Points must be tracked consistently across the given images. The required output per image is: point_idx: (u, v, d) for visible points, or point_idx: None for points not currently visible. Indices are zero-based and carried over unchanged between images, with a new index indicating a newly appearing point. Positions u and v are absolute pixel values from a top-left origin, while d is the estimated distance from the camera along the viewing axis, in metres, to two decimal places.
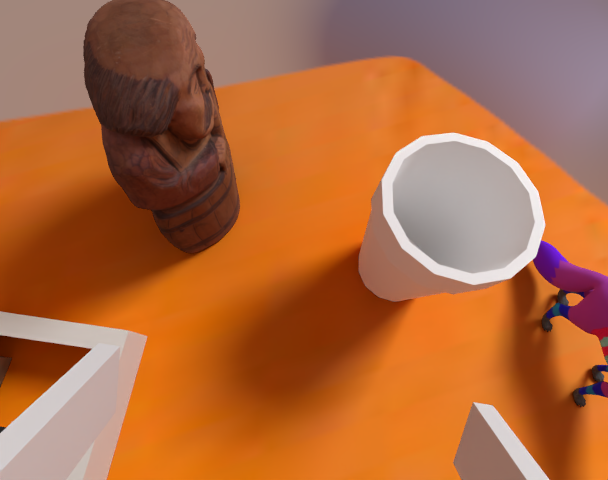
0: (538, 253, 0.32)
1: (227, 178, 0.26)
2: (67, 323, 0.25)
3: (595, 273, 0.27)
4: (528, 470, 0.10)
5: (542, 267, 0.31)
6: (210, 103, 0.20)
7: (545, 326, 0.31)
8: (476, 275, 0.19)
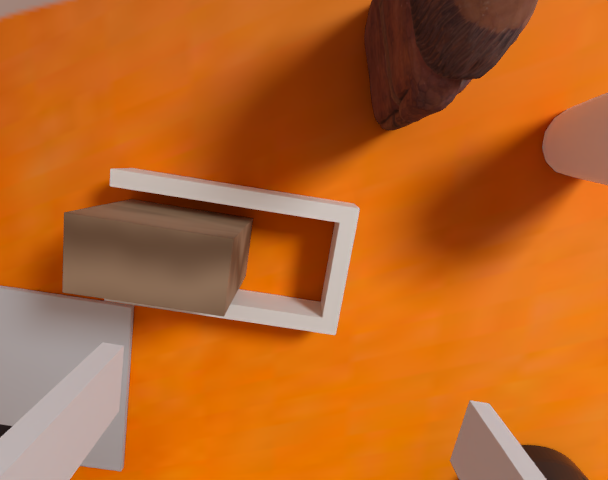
0: None
1: None
2: (311, 202, 0.31)
3: None
4: (523, 467, 0.10)
5: None
6: None
7: None
8: None
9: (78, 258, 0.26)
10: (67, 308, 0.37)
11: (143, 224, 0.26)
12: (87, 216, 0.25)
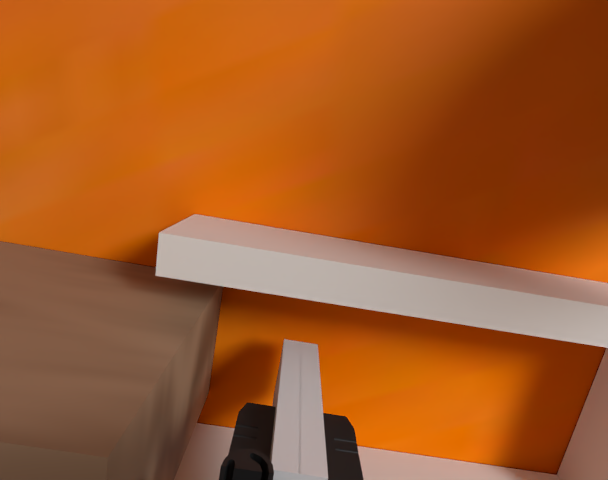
0: None
1: None
2: None
3: None
4: (307, 385, 0.12)
5: None
6: None
7: None
8: None
9: None
10: None
11: None
12: None
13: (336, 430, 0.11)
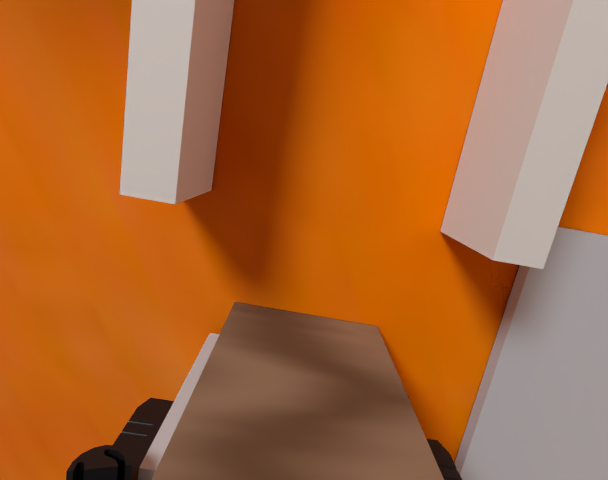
0: None
1: None
2: None
3: None
4: None
5: None
6: None
7: None
8: None
9: None
10: (519, 381, 0.15)
11: None
12: None
13: None
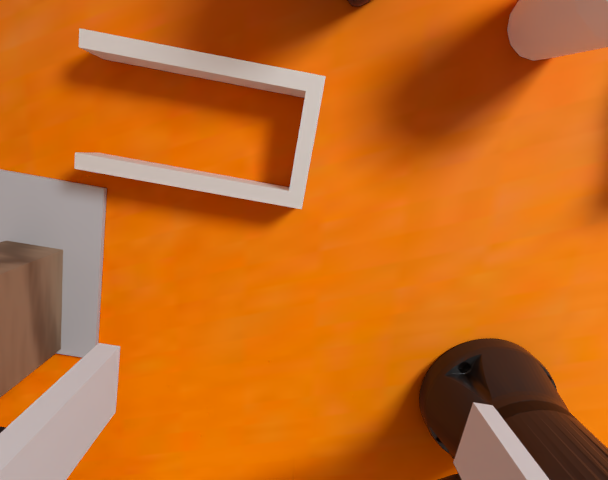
0: None
1: None
2: (278, 68, 0.32)
3: None
4: (528, 470, 0.10)
5: None
6: None
7: None
8: None
9: None
10: (39, 188, 0.37)
11: None
12: None
13: None
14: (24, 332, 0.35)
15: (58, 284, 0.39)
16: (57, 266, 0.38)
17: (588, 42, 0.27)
